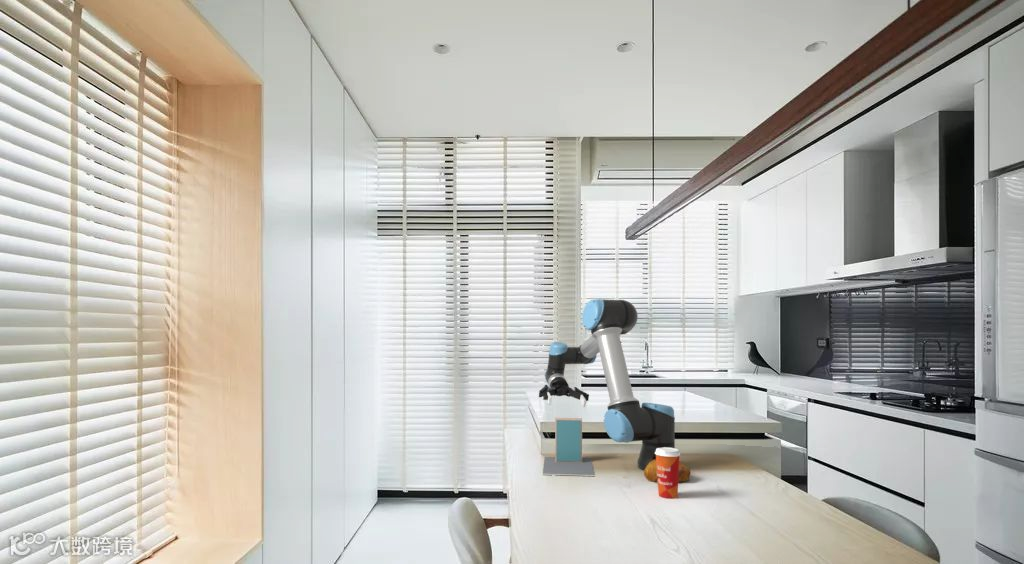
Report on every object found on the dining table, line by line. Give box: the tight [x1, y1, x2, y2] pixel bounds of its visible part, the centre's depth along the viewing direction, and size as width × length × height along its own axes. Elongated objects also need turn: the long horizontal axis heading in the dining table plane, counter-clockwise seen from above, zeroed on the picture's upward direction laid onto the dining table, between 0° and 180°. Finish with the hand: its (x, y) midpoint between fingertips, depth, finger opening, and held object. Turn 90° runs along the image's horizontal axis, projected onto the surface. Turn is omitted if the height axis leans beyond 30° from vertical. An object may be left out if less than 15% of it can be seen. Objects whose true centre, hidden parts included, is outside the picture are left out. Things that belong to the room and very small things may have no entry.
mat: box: [542, 456, 596, 478], centre depth 217 cm, size 26×18×1 cm
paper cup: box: [655, 447, 681, 500], centre depth 182 cm, size 8×8×14 cm
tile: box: [554, 417, 583, 463], centre depth 223 cm, size 3×10×16 cm, turn 85°
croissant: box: [643, 459, 691, 483], centre depth 202 cm, size 14×16×8 cm
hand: (567, 402), depth 229 cm, fingers open, 13 cm apart
